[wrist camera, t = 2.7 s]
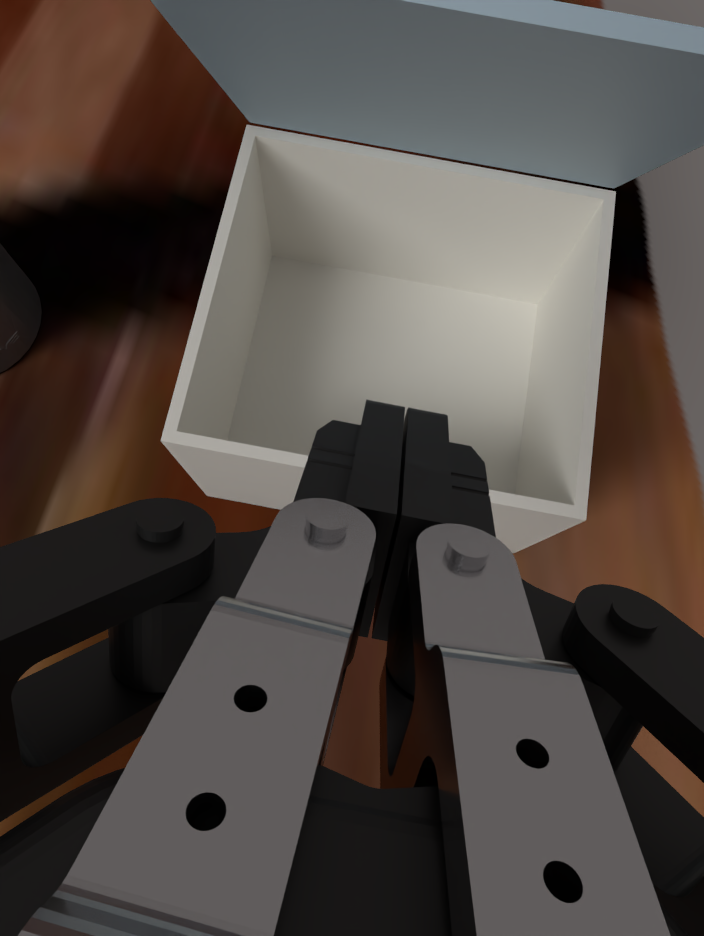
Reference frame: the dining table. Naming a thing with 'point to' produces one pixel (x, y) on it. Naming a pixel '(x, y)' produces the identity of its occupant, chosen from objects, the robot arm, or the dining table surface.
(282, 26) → the lid flap
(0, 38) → the dining table surface
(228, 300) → the carton
